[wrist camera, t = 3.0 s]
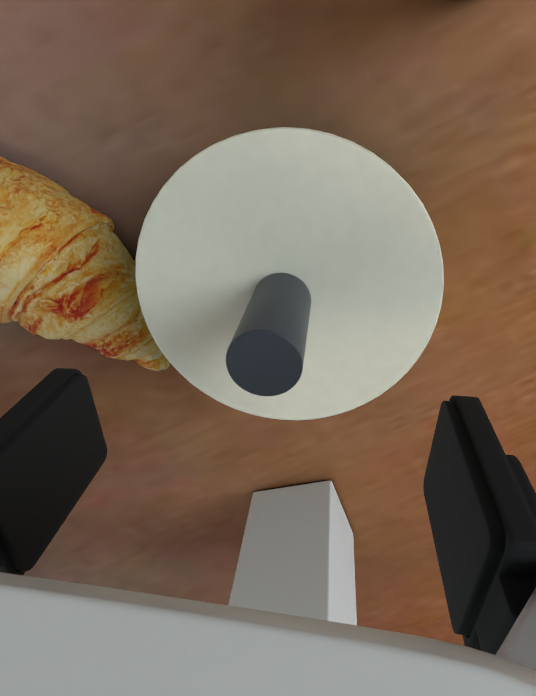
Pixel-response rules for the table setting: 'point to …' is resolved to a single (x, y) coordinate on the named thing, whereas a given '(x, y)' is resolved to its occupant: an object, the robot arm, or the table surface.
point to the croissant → (68, 271)
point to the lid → (289, 273)
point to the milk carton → (297, 555)
